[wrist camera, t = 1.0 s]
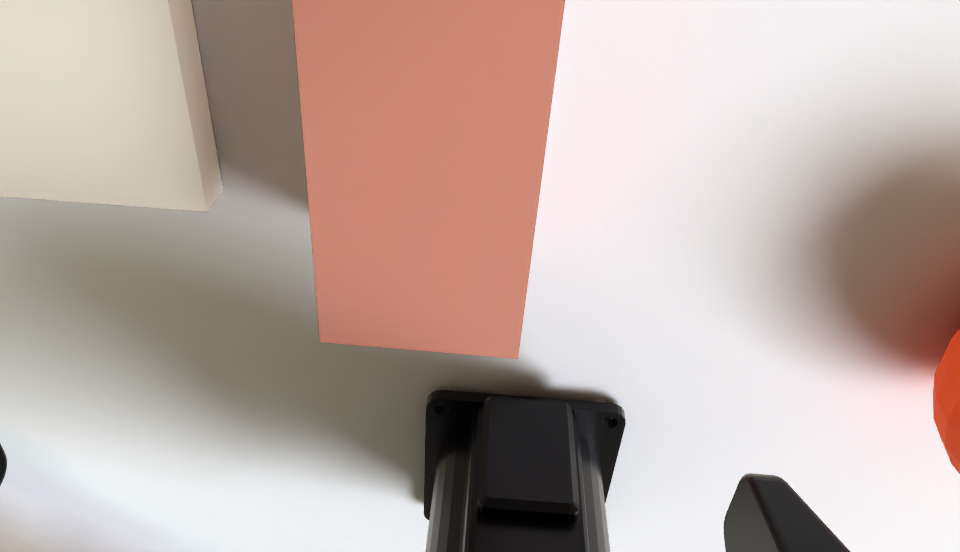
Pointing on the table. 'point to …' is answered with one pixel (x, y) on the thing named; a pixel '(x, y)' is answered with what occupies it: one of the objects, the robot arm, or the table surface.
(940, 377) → the clementine
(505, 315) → the block
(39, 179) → the board
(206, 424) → the table surface
